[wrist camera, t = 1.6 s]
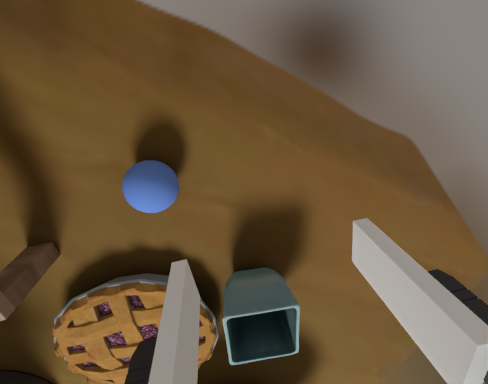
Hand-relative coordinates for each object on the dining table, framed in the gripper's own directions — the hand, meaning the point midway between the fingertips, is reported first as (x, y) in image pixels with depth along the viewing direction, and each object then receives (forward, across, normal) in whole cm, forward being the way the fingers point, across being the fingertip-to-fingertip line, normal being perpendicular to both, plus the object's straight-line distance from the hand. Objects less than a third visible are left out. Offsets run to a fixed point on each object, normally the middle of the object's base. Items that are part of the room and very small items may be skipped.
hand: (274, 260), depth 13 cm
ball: (+15, +10, 0) cm, 17 cm away
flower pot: (+18, +2, +19) cm, 26 cm away
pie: (+18, +18, +22) cm, 34 cm away
